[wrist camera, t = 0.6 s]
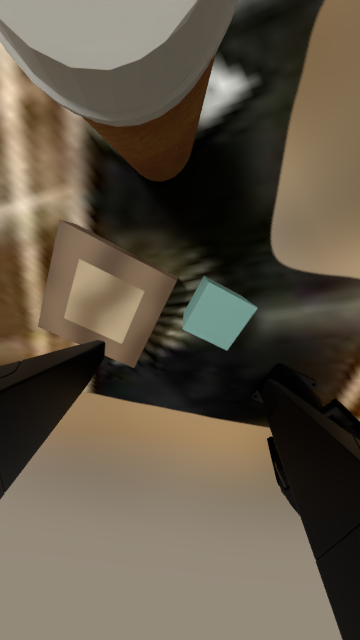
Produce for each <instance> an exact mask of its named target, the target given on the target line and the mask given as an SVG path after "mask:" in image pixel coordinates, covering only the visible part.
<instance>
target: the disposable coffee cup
mask: <svg viewBox="0 0 360 640" xmlns="http://www.w3.org/2000/svg"><path fill="white" fill-rule="evenodd" d="M237 3H238V0H0V42H1V43H2V45H3V46H4V48H5V50H6V51H7V52H8V54H9V55H10V56H11V57H12V58H13V59H14V61H15V62H16V63H17V64H18V65H19V66H20V68H21V69H22V70H23V71H24V72H25V73H26V75H27V76H28V77H29V78H30V79H31V80H32V82H33V83H34V84H35V85H37V86H38V87H39V88H40V89H41V90H43V91H44V92H45V93H46V94H47V95H48V96H50V97H51V98H52V99H53V100H54V101H56V102H57V103H58V104H60V105H62V106H63V107H65V108H67V109H68V110H70V111H71V112H73V113H75V114H77V115H79V116H82V117H83V118H84V119H85V120H86V121H87V122H88V123H89V124H90V125H91V126H92V127H93V128H94V129H95V130H96V131H97V132H98V133H99V134H100V135H101V136H102V137H103V138H104V139H105V140H106V141H107V142H108V143H109V144H110V145H111V146H112V147H113V148H114V149H115V150H116V151H117V152H118V153H119V154H120V155H121V156H122V157H123V158H124V159H125V160H126V161H127V162H128V163H129V164H130V165H131V166H132V167H133V168H134V169H135V170H136V171H137V172H138V173H139V174H141V175H142V176H144V177H145V178H147V179H149V180H153V181H165V180H168V179H171V178H173V177H175V176H176V175H177V174H178V173H179V172H181V170H182V169H183V168H184V166H185V165H186V163H187V161H188V159H189V157H190V154H191V151H192V147H193V142H194V138H195V135H196V130H197V126H198V122H199V119H200V114H201V111H202V106H203V102H204V98H205V94H206V90H207V86H208V82H209V78H210V74H211V70H212V66H213V62H214V58H215V53H216V51H217V49H218V47H219V45H220V43H221V41H222V39H223V37H224V35H225V33H226V31H227V29H228V26H229V24H230V22H231V19H232V17H233V14H234V11H235V8H236V5H237Z"/></svg>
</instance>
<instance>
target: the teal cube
mask: <svg viewBox="0 0 360 640" xmlns="http://www.w3.org/2000/svg"><path fill="white" fill-rule="evenodd" d="M256 310H257V307H256V306H254V305H253V304H252V303H250V302H249V301H248V300H246V299H245V298H244V297H242V296H241V295H239V294H237V293H235V292H233V291H232V290H230V289H228V288H226V287H224V286H222V285H220V284H218V283H217V282H215V281H213V280H211V279H209V278H207V277H205V276H204V277H203V278H202V280H201V282H200V284H199V286H198V288H197V289H196V291H195V293H194V295H193V297H192V299H191V301H190V302H189V304H188V306H187V308H186V310H185V312H184V316H183V330H185V331H187V332H189V333H191V334H193V335H196V336H198V337H200V338H202V339H204V340H206V341H208V342H210V343H212V344H214V345H216V346H218V347H220V348H223V349H225V350H228V349H229V347H230V346H231V345H232V343H233V342H234V340H235V339H236V338H237V336H238V335H239V333H240V332H241V331H242V329H243V328H244V326H245V325H246V324H247V322H248V321H249V319H250V318H251V317H252V315H253V314H254V312H255V311H256Z"/></svg>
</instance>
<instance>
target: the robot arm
mask: <svg viewBox="0 0 360 640" xmlns="http://www.w3.org/2000/svg"><path fill="white" fill-rule="evenodd" d="M104 356H105V342H104V341H101V340H95V341H91V342H87V343H84V344H80V345H76V346H73V347H69V348H65V349H62V350H58V351H54V352H51V353H47V354H44V355H40V356H36V357H33V358H29V359H25V360H22V362H21V361H18V362H14V363H11V364H7V365H3V366H0V499H1V498H2V496H3V495H4V492H6V491H7V490H8V488H9V487H10V486H11V484H12V483H13V482H14V480H15V479H16V478H17V477H18V475H19V474H20V473H21V471H22V470H23V469H24V467H25V466H26V465H27V463H28V462H29V461H30V459H31V458H32V457H33V455H34V454H35V453H36V452H37V450H38V449H39V448H40V446H41V445H42V444H43V442H44V441H45V440H46V439H47V437H48V436H49V434H50V433H51V432H52V431H53V429H54V428H55V427H56V425H57V424H58V423H59V421H60V420H61V419H62V417H63V416H64V415H65V414H66V412H67V411H68V410H69V408H70V407H71V406H72V404H73V403H74V402H75V400H76V399H77V398H78V396H79V395H80V394H81V393H82V391H83V390H84V389H85V387H86V386H87V385H88V383H89V382H90V380H91V379H92V377H93V375H94V374H95V372H96V370H97V369H98V367H99V365H100V364H101V362H102V360H103V359H104ZM279 367H280V368H279ZM316 386H317V382H316V381H315V380H313V379H311V378H309V377H307V376H305V375H303V374H301V373H299V372H297V371H295V370H293V369H291V368H289V367H287V366H285V365H283V364H277V365H276V366H275V367H274V368H273V369H272V370H271V371H270V372H269V374H268V375H267V376H266V377H265V378H264V379H263V380H262V382H261V383H260V384H259V385H258V386H257V387H256V388H255V390H254V391H253V392H252V393H251V397H252V398H253V399H255V400H257V401H259V402H261V403H264V407H265V411H266V415H267V419H268V423H269V426H270V429H271V432H272V435H273V437H269V438H267V441H268V446H269V450H270V455H271V459H272V463H273V467H274V471H275V476H276V480H277V483H278V485H279V486H280V488H281V491H282V493H283V494H284V495H285V496H286V498H287V500H288V501H289V503H290V504H291V505H292V507H293V508H294V509H295V510H296V512H297V513H298V514H299V515H300V517H301V520H302V523H303V525H304V528H305V531H306V534H307V537H308V540H309V543H310V545H311V549H312V551H313V554H314V557H315V559H316V564H317V567H318V570H319V572H320V575H321V578H322V581H323V584H324V587H325V590H326V593H327V596H328V599H329V602H330V604H331V607H332V610H333V613H334V616H335V619H336V622H337V625H338V628H339V631H340V634H341V636H342V639H343V640H360V421H359V420H358V419H357V418H356V417H355V416H354V415H353V414H352V413H351V412H350V411H349V410H348V409H347V408H346V407H345V406H344V405H343V404H341V403H340V402H339V401H338V400H337V399H336V398H335V399H333V400H331V401H332V402H330V403H329V404H327V405H325V404H324V403H323V401H322V400H321V399H320V398H319V397H318V396H317V395H316V394H315V393H314V392H313V391H312V390H313V389H314V388H315V387H316ZM254 395H255V396H254Z"/></svg>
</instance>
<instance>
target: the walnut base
mask: <svg viewBox="0 0 360 640" xmlns="http://www.w3.org/2000/svg"><path fill="white" fill-rule="evenodd" d="M177 279H178V277H176V276H174V275H172V274H170V273H169V272H167V271H165V270H163V269H161V268H159V267H157V266H155V265H153V264H151V263H149V262H147V261H146V260H144V259H142V258H140V257H138V256H136V255H134V254H132V253H130V252H128V251H126V250H124V249H123V248H121V247H119V246H117V245H115V244H113V243H111V242H109V241H107V240H105V239H103V238H102V237H100V236H98V235H96V234H94V233H92V232H90V231H88V230H86V229H84V228H82V227H80V226H79V225H77V224H73V223H69V222H66V221H62V220H59V225H58V230H57V235H56V240H55V245H54V250H53V255H52V260H51V265H50V269H49V274H48V279H47V284H46V289H45V294H44V299H43V304H42V309H41V314H40V319H39V324H38V327H40V328H43V329H45V330H47V331H50V332H52V333H54V334H57V335H59V336H61V337H63V338H66V339H68V340H70V341H73V342H75V343H77V344H84V343H87V342H91V341H95V340H101V341H104V342H105V356H107V357H110V358H112V359H114V360H117V361H119V362H121V363H124V364H126V365H128V366H131V367H133V368H134V367H135V365H136V363H137V361H138V359H139V357H140V355H141V353H142V351H143V349H144V347H145V345H146V343H147V341H148V339H149V337H150V335H151V333H152V330H153V328H154V326H155V324H156V322H157V320H158V318H159V316H160V314H161V312H162V310H163V308H164V306H165V304H166V302H167V300H168V298H169V296H170V294H171V292H172V290H173V288H174V286H175V284H176V282H177Z"/></svg>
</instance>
